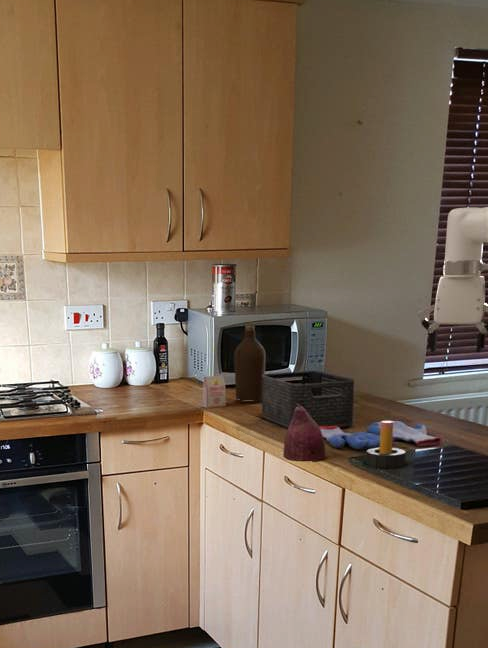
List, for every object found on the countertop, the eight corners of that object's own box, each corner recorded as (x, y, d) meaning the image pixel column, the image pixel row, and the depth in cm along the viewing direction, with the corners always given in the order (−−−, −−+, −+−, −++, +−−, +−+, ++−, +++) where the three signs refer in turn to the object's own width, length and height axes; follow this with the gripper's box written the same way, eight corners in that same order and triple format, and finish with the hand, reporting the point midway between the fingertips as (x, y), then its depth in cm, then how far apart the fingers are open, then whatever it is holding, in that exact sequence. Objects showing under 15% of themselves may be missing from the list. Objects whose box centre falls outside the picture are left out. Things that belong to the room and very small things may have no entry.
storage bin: (258, 416, 271) (258, 372, 267) (316, 412, 276) (317, 369, 272) (294, 432, 245) (295, 384, 241) (357, 427, 250) (359, 380, 245)
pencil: (392, 462, 208) (394, 421, 204) (389, 465, 205) (392, 423, 202) (380, 462, 209) (382, 420, 206) (377, 464, 207) (379, 422, 203)
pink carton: (202, 406, 293) (202, 376, 289) (221, 404, 294) (221, 374, 291) (206, 408, 289) (206, 377, 286) (225, 406, 291) (225, 376, 288)
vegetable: (302, 476, 211) (297, 419, 203) (275, 463, 219) (269, 408, 211) (335, 459, 215) (331, 403, 207) (308, 447, 223) (303, 393, 215)
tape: (407, 461, 209) (408, 448, 208) (400, 469, 202) (401, 456, 201) (370, 458, 213) (371, 446, 212) (362, 466, 205) (363, 454, 204)
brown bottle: (260, 404, 293) (261, 327, 285) (230, 403, 297) (230, 327, 289) (268, 399, 302) (269, 324, 294) (239, 398, 306) (239, 324, 298)
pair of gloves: (401, 427, 249) (402, 414, 247) (459, 443, 226) (460, 429, 225) (302, 438, 238) (302, 424, 237) (352, 456, 216) (353, 441, 214)
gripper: (506, 268, 187) (499, 350, 192) (423, 270, 194) (418, 349, 199) (503, 269, 180) (495, 354, 186) (417, 271, 187) (412, 352, 193)
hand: (455, 351), depth 193 cm, fingers open, 9 cm apart
